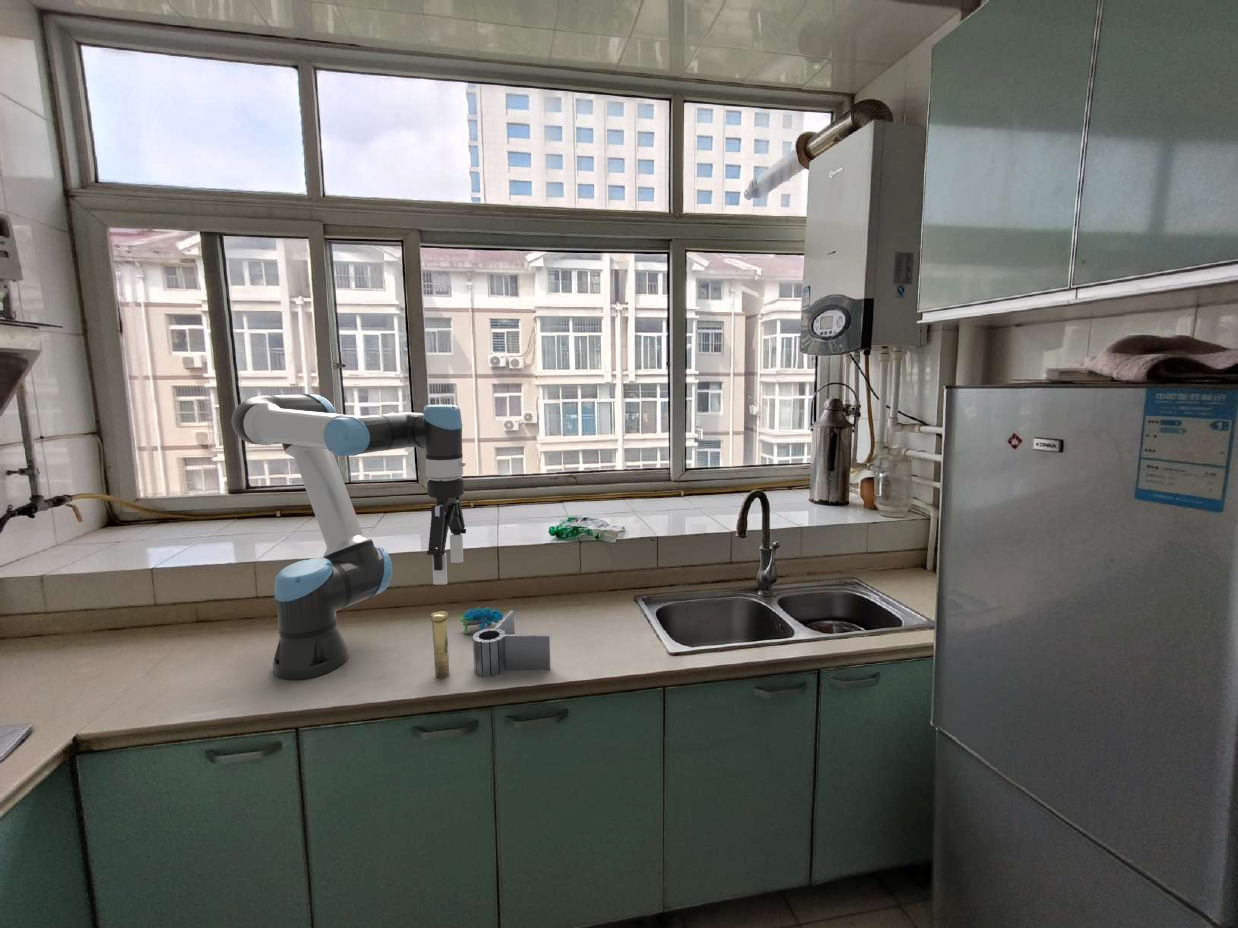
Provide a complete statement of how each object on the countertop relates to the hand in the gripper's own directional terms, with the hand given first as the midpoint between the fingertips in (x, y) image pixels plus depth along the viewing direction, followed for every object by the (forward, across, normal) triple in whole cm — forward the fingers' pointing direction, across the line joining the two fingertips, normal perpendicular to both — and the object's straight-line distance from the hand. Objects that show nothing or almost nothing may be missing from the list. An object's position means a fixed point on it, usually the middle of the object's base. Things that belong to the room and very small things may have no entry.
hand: (449, 572), depth 126 cm
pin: (+23, -3, +2) cm, 23 cm away
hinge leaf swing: (+23, +8, -10) cm, 26 cm away
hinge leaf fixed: (+23, 0, -13) cm, 26 cm away
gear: (+23, +20, -2) cm, 31 cm away
